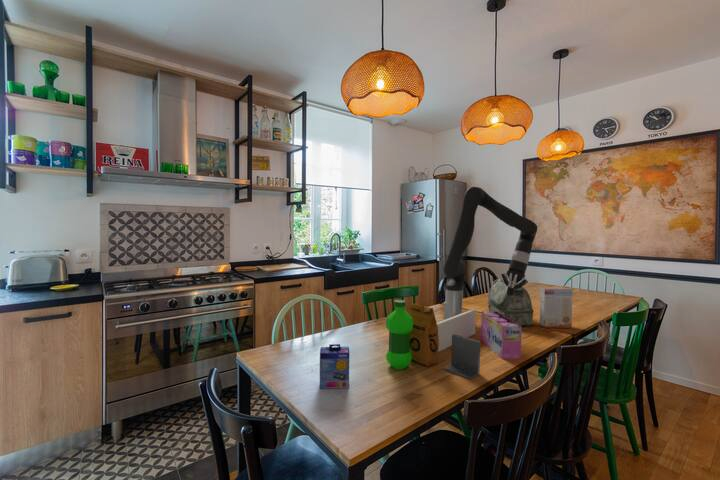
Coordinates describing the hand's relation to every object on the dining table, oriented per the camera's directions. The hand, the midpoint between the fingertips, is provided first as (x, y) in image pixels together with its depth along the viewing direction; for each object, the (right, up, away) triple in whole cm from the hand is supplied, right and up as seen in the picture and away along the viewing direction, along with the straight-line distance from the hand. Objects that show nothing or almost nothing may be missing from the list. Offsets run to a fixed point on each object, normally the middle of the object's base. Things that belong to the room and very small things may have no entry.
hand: (509, 295), depth 162 cm
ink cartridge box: (-81, -22, -50) cm, 98 cm away
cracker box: (+31, -19, +15) cm, 40 cm away
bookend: (-35, -21, -40) cm, 57 cm away
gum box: (-12, -21, -17) cm, 29 cm away
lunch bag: (+11, -19, +27) cm, 34 cm away
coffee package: (-48, -21, -30) cm, 60 cm away
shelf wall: (-30, -20, -11) cm, 38 cm away
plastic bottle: (-58, -21, -36) cm, 71 cm away
